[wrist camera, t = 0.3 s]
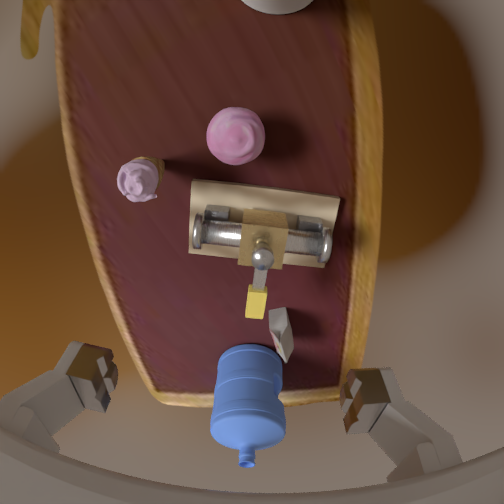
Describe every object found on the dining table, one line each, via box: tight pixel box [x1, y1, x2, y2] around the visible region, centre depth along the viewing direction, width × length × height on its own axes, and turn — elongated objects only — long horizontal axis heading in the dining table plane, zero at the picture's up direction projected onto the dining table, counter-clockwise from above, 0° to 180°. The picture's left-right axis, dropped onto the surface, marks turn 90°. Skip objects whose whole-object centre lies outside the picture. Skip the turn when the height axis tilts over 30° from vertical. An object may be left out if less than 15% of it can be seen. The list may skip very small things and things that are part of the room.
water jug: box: [210, 344, 286, 468], centre depth 62 cm, size 16×16×28 cm
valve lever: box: [245, 244, 274, 319], centre depth 48 cm, size 12×3×2 cm, turn 173°
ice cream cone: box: [117, 157, 165, 202], centre depth 46 cm, size 7×6×15 cm
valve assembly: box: [189, 179, 340, 269], centre depth 52 cm, size 14×26×12 cm, turn 83°
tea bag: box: [269, 307, 294, 362], centre depth 63 cm, size 4×7×10 cm, turn 15°
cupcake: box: [207, 107, 265, 165], centre depth 45 cm, size 9×9×10 cm
